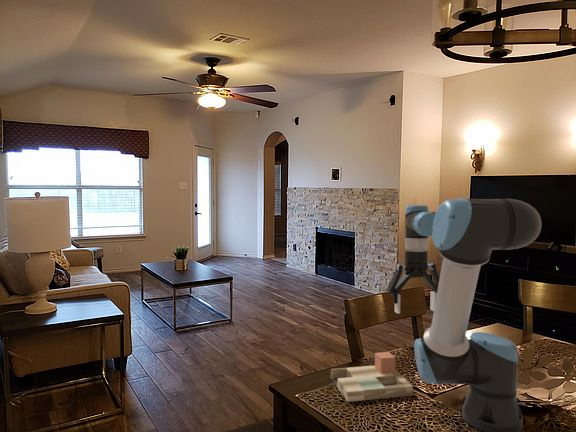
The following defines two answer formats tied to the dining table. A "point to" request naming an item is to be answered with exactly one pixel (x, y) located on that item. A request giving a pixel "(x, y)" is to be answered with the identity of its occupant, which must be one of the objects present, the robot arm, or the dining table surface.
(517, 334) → the dining table surface
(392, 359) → the block
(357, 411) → the dining table surface
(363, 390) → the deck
